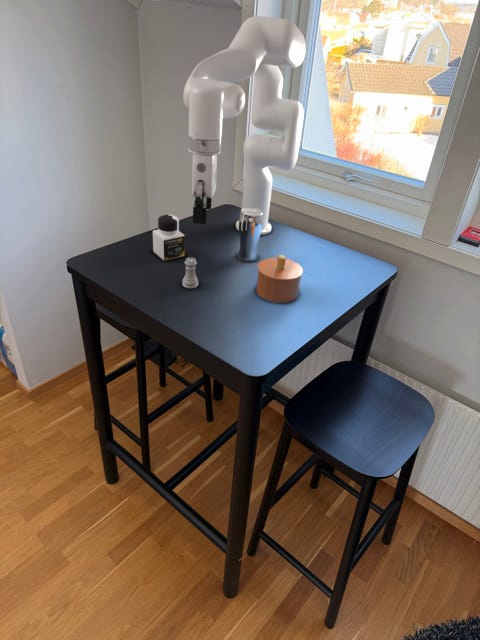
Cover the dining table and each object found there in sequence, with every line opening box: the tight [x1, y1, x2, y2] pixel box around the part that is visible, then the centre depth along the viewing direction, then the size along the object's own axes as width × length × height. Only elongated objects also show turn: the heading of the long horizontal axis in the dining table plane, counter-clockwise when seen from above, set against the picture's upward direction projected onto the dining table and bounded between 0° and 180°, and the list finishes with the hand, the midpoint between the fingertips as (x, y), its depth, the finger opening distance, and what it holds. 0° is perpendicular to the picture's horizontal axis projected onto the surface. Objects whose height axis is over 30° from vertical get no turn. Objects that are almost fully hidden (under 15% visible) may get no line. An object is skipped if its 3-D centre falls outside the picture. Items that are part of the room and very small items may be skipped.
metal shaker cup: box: [237, 207, 263, 262], centre depth 142 cm, size 7×7×15 cm
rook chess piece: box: [181, 256, 199, 290], centre depth 127 cm, size 4×4×8 cm
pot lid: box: [257, 254, 304, 281], centre depth 125 cm, size 12×12×4 cm
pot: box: [256, 271, 302, 304], centre depth 128 cm, size 11×11×7 cm
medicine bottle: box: [152, 214, 186, 262], centre depth 140 cm, size 7×7×12 cm
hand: (202, 215), depth 117 cm, fingers open, 9 cm apart
